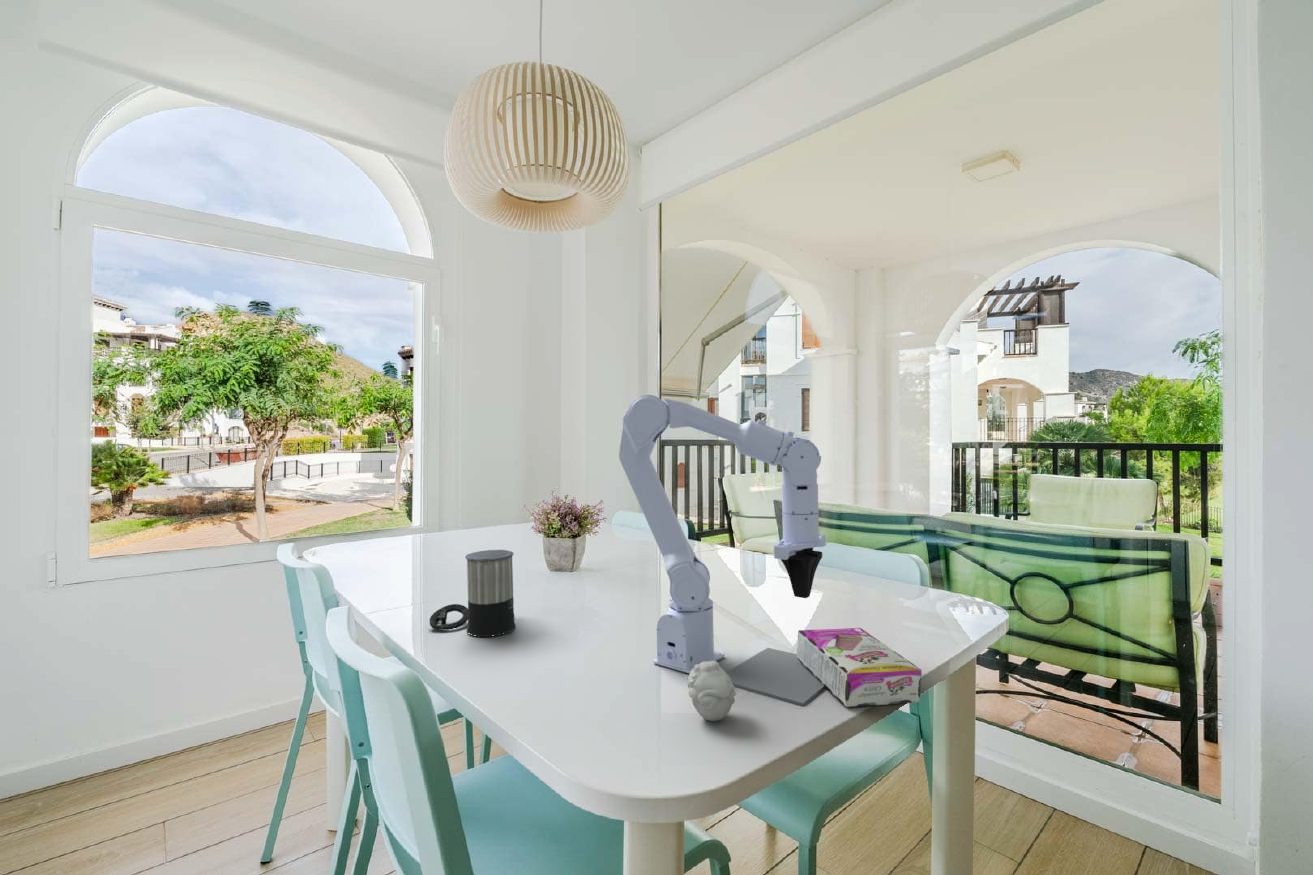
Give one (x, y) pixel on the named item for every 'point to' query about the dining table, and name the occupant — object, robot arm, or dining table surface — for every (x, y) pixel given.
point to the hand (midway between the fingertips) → (801, 596)
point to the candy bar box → (858, 667)
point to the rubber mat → (777, 677)
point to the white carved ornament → (711, 690)
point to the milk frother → (484, 596)
